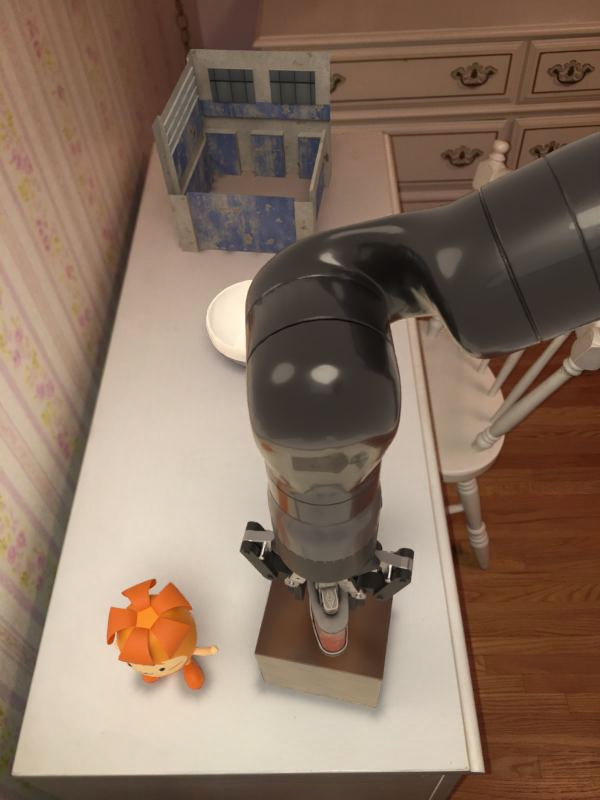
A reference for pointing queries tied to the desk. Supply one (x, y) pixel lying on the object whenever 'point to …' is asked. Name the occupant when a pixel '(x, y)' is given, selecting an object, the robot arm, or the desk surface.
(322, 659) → the block
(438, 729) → the desk surface
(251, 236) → the building
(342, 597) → the lighter
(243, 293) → the bowl
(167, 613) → the toy figure
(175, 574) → the desk surface
